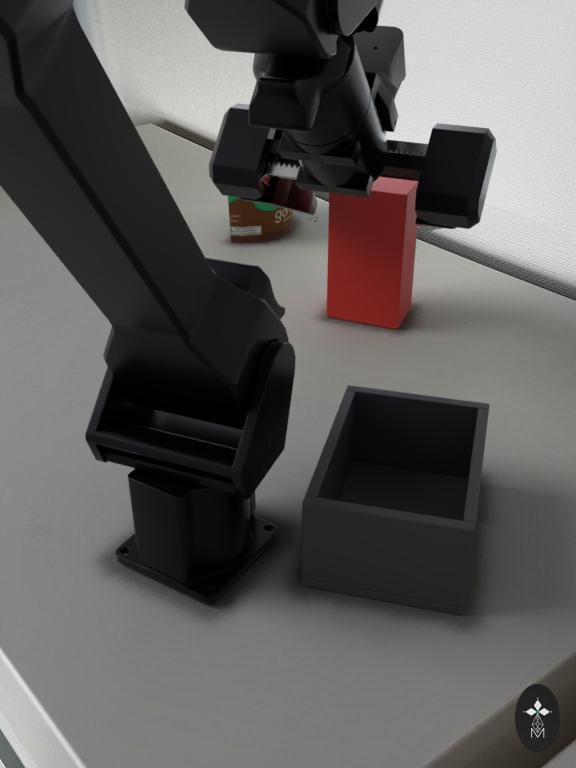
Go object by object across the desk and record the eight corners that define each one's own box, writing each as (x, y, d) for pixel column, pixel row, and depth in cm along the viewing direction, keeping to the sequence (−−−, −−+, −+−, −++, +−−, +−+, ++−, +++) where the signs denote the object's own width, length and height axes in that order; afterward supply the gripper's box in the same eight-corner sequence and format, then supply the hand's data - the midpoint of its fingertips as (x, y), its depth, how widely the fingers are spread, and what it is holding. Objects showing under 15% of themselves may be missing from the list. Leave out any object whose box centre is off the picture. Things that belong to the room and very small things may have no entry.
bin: (462, 616, 43) (474, 530, 40) (301, 586, 45) (301, 502, 42) (478, 480, 52) (489, 403, 49) (344, 460, 54) (347, 384, 51)
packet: (397, 329, 69) (407, 195, 63) (326, 316, 71) (329, 185, 65) (411, 308, 72) (421, 178, 66) (342, 297, 74) (346, 169, 68)
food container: (290, 253, 82) (290, 147, 77) (226, 248, 83) (222, 143, 78) (313, 208, 92) (314, 112, 87) (256, 204, 93) (254, 109, 88)
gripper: (511, -8, 50) (517, 134, 64) (218, -22, 56) (284, 111, 70) (467, 167, 48) (484, 273, 62) (168, 133, 54) (247, 236, 68)
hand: (370, 216), depth 66 cm, fingers open, 9 cm apart
